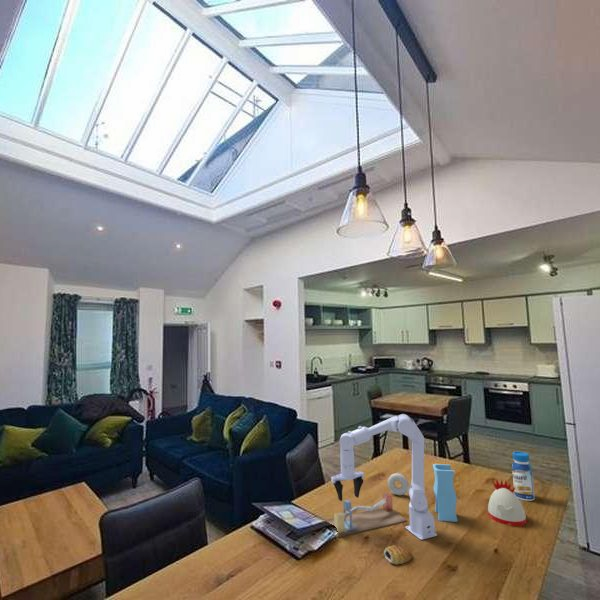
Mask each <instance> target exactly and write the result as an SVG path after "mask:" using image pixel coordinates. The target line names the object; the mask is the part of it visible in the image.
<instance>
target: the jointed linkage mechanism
mask: <svg viewBox="0 0 600 600" xmlns="http://www.w3.org/2000/svg"><path fill="white" fill-rule="evenodd" d="M381 497H382V499H380V500H379V501H378V502H376V503H375V504H373V505H372V506H370V505H355V506H353V507H351V510H350V511H351V512H352V514H355V512H358V511H364V512H365V511H374V510H376V509H379V508H381V507H382V508H383V509H384V510H385V511H386V512H389V511H393V510H394V508H393V495H392V494H391V493H389V492H384V493H382V495H381ZM349 515H350V513H349V512H348V511H345V513H343V512H341V511H340V512H335V513H333V516H334V517H333V518H334V526H335V527H336V528H337V531H338V533H337V534H338V535H339V534H343V533H345V524H344V519H345V518H346V517H348V516H349Z"/></svg>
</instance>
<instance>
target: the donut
mask: <svg viewBox="0 0 600 600" xmlns="http://www.w3.org/2000/svg"><path fill="white" fill-rule="evenodd" d="M396 482H399V483H400V484H401V486H400V487H397V486H396V484H395V483H396ZM387 486H388V488H389V490H390V491H391V493H392V494H394V495H395V496H396V495H397V496H404V495H405V494H407V493H408V491H409V488H410V485H409V481H408V479H407V478H406V477H405V476H404V475H403V474H402V473H398V472H396V473H392V474H391V475H390V476H389V477H388V479H387Z"/></svg>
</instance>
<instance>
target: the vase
mask: <svg viewBox="0 0 600 600" xmlns="http://www.w3.org/2000/svg"><path fill="white" fill-rule="evenodd" d="M432 467H433V471H434V483H433V488H432V489H433V492H434V493H433V494H434V496H435V497H434V498H435V508H434V512H435V513H438V514H437V515H438V516H437V521H440V522H441V521H443V522H452V523H453V522H456V523H457V522H458V517H457V510H456V509H457V508H456V505H457V500H458V498H457V493H456V491H455V488H454V475H455V470H451V468H452V465H451V464H444V463H443V464H442V463H433V464H432Z"/></svg>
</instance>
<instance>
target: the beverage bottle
mask: <svg viewBox="0 0 600 600" xmlns="http://www.w3.org/2000/svg"><path fill="white" fill-rule="evenodd" d="M512 459H513V463H512V465H511V468H512V471H511V473H512V480H513V481H512V482H513V488H514V487H515V490H514V492H513V493H514V494H515V495H516V496H517V497H518V499H519V500H520V501H527V502H531V501H534V500H535V499H536V496H535V488H534V487H535V486H534V474H533V468H532V466H531V464H530V460H531V459H530V454H529V453H527V452H524V451H513V452H512Z"/></svg>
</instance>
